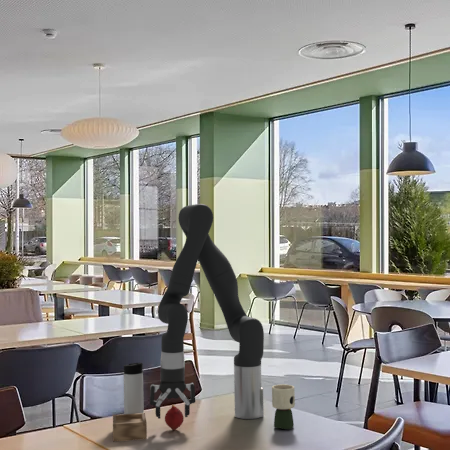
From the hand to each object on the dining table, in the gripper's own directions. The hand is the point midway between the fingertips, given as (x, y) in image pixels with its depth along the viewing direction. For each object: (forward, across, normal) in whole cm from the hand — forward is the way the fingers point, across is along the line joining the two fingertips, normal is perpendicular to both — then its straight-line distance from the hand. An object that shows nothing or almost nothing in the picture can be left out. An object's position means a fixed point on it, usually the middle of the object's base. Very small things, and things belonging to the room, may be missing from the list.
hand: (172, 417), depth 204 cm
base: (+4, +13, +2) cm, 14 cm away
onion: (+4, -1, 0) cm, 4 cm away
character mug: (+4, -35, +6) cm, 35 cm away
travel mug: (+4, +12, -10) cm, 16 cm away
